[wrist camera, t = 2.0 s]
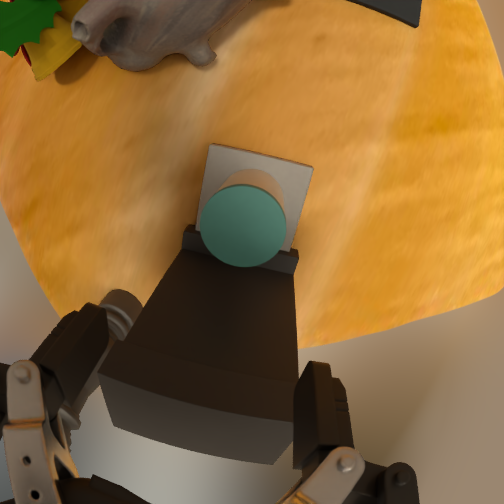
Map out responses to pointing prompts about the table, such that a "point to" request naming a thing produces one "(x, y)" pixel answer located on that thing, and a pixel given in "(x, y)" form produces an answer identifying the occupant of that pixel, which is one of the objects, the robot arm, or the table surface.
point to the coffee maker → (216, 338)
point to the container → (245, 219)
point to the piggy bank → (152, 29)
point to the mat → (396, 9)
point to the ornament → (39, 32)
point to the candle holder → (119, 323)
